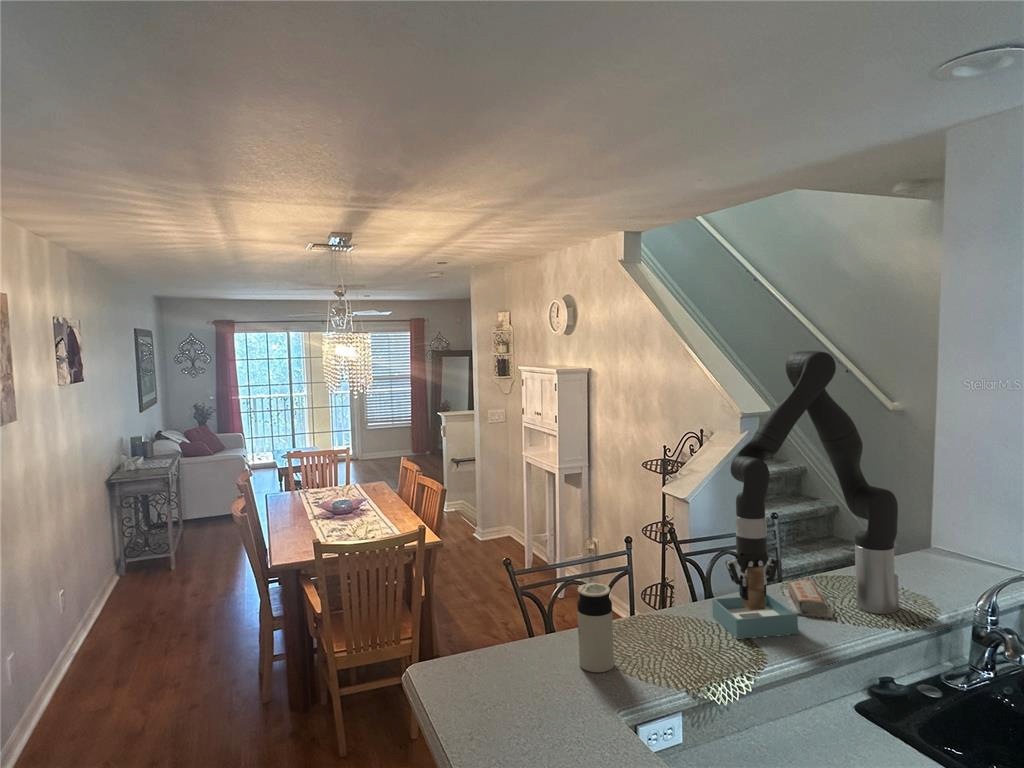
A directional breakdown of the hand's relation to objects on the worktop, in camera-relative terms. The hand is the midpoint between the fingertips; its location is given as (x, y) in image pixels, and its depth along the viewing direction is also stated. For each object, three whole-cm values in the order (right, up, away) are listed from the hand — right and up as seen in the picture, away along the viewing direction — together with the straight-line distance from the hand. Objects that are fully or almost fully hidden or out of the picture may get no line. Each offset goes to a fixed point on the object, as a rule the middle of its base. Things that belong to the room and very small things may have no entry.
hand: (753, 598), depth 159 cm
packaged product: (+20, -7, +13) cm, 25 cm away
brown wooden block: (0, -2, 0) cm, 2 cm away
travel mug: (-43, -10, -17) cm, 47 cm away
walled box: (0, -7, 0) cm, 7 cm away
